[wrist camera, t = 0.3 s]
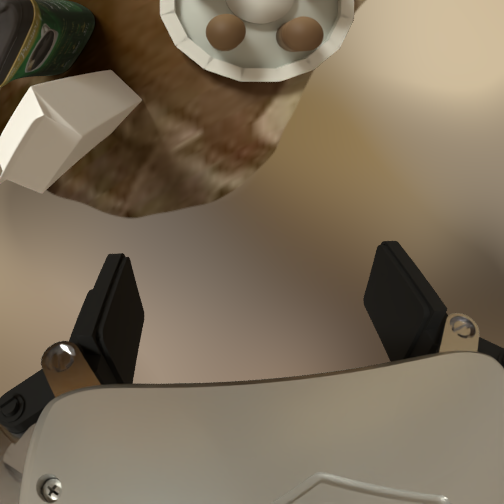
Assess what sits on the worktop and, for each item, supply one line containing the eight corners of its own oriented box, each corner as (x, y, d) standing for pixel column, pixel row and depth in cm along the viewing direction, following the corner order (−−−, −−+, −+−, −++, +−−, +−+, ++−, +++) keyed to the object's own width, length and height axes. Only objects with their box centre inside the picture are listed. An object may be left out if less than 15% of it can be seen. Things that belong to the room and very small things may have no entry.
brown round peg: (275, 21, 29) (285, 14, 24) (308, 23, 30) (323, 18, 25) (275, 51, 31) (285, 49, 27) (307, 53, 32) (323, 52, 27)
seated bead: (207, 21, 29) (205, 14, 24) (241, 20, 29) (245, 13, 24) (208, 52, 31) (205, 50, 26) (241, 50, 31) (245, 49, 26)
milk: (143, 99, 34) (67, 150, 16) (111, 134, 36) (24, 215, 18) (110, 68, 31) (6, 91, 13) (79, 104, 33) (-30, 162, 15)
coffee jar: (62, -5, 24) (-28, -23, 9) (106, 17, 27) (26, -2, 12) (25, 59, 28) (-72, 80, 12) (66, 82, 31) (-26, 112, 16)
